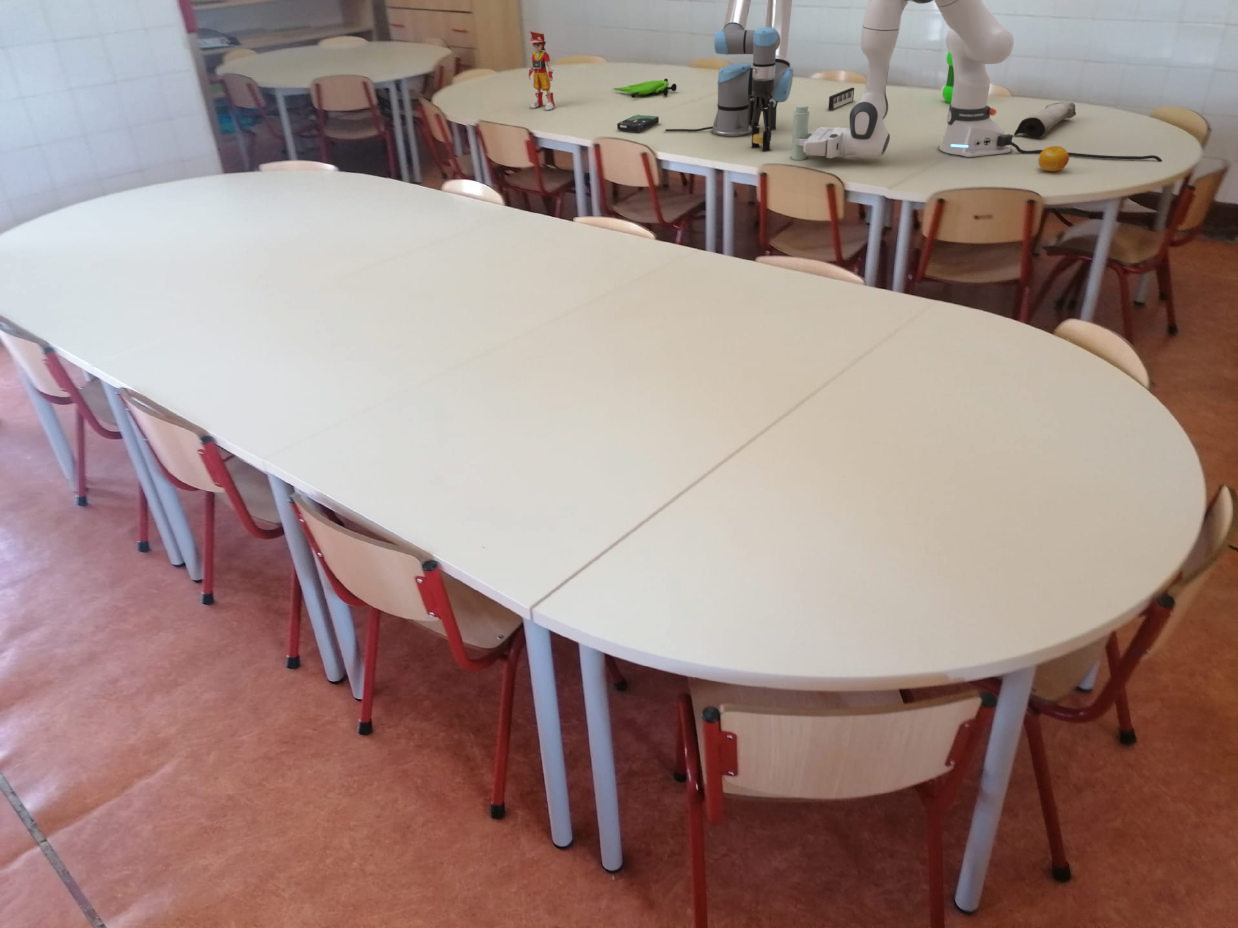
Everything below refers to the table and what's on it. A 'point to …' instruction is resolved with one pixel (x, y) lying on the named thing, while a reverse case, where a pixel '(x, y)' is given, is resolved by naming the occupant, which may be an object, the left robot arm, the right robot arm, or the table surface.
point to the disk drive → (638, 123)
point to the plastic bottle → (949, 80)
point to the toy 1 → (541, 71)
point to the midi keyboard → (841, 98)
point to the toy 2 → (648, 88)
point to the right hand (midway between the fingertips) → (797, 138)
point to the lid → (758, 138)
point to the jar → (800, 130)
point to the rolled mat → (1045, 119)
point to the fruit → (1053, 158)
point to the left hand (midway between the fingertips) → (760, 148)
